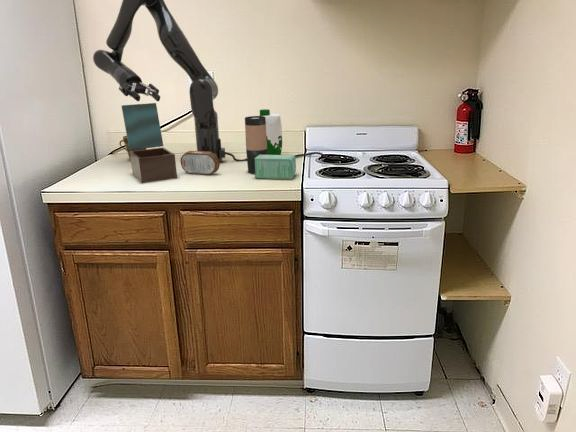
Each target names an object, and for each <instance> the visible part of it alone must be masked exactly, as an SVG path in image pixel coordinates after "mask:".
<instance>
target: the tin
mask: <svg viewBox="0 0 576 432" xmlns="http://www.w3.org/2000/svg"><path fill="white" fill-rule="evenodd" d="M180 165H181V168H182V170H183V171H184V172H185V173H187V174H190V175H203V176H210V175H213V174H215V173H216V172H218V171H219V169H220V163H219V160H218V158H217V156H216V155H215V154H213V153H212V152H205V151H197V150H188V151H186V152H185V153H183V154H182V155H181V157H180Z"/></svg>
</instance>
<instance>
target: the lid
mask: <svg viewBox="0 0 576 432" xmlns="http://www.w3.org/2000/svg"><path fill="white" fill-rule="evenodd" d="M157 106H158V105H157V103H156V102H152V103H149V102H148V103H137V104H122V105H121V112H122V116H123V117H122V118H123V122H124V128H125V133H126V136H127V140H128V145H129V150H135V149H144V148H146V149H154V148H163V147H164V139H163V135H162V129H161V124H160V119H159V113H158V107H157Z"/></svg>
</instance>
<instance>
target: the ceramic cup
mask: <svg viewBox="0 0 576 432" xmlns="http://www.w3.org/2000/svg"><path fill="white" fill-rule="evenodd" d="M122 142H123V143H124V146H125V147H124V146H123V145H122ZM118 145H119V147H121V148H122V149H124V151H126V152H127V155H128V158H129V161H130V162H131V157H130V151H136V150H145V149H147V148H144V149H135V150H129V145H128V140H127V135H124V136H122V139H121V140H120V141H119V144H118Z"/></svg>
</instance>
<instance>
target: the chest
mask: <svg viewBox="0 0 576 432" xmlns="http://www.w3.org/2000/svg"><path fill="white" fill-rule="evenodd" d="M130 157H131V161H130V164H131V171H132V175H133V177H135V178H136V179H137V180H138V181H139V182H140V184H145V183H153V182H159V181H160V182H161V181H167V180H173V179H178V173H177V164H176V162H177V161H176V155H175V153H174V152H172V151H170V150H168V148H165V147H153V148H146V149H145V150H136V151H130Z"/></svg>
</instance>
